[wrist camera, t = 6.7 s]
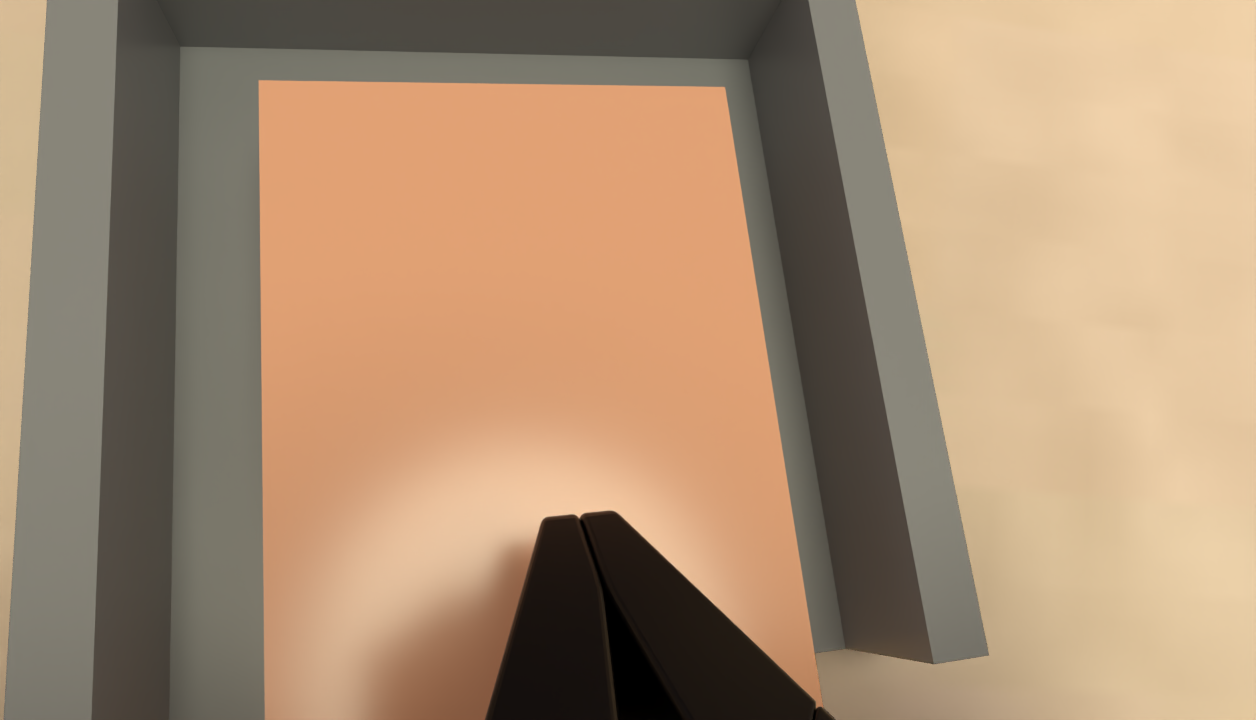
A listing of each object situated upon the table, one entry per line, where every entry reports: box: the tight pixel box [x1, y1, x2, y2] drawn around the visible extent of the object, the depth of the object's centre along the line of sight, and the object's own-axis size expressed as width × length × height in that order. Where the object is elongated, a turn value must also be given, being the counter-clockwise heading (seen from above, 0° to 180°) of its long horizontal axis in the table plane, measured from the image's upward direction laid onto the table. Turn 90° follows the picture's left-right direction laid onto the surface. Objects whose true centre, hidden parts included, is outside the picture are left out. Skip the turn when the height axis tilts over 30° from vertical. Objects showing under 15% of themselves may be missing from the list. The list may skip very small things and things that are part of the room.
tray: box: [4, 0, 989, 720], centre depth 15 cm, size 14×14×4 cm
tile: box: [259, 80, 823, 720], centre depth 14 cm, size 3×8×11 cm
